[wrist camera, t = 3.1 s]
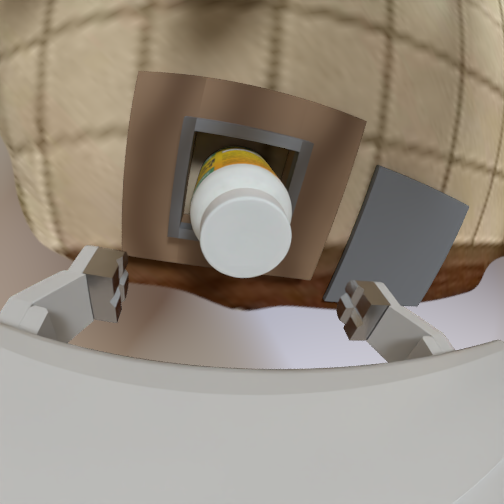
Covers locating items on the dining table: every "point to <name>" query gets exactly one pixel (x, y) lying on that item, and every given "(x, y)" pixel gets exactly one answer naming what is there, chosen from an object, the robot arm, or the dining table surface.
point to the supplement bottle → (241, 213)
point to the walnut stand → (239, 126)
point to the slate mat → (399, 237)
